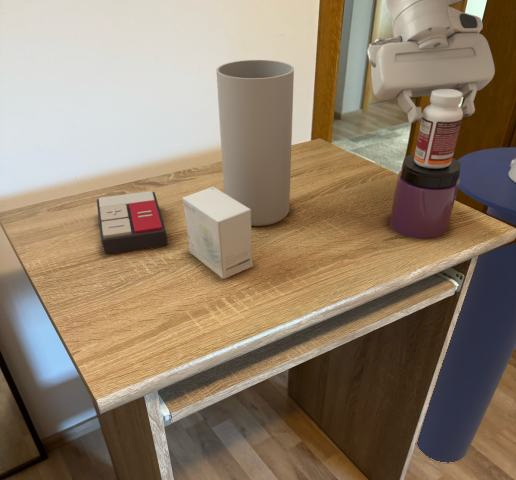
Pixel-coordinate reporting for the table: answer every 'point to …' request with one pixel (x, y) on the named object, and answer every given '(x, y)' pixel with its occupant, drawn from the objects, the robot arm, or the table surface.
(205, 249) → the cosmetics box
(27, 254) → the table surface
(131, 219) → the calculator
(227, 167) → the cylinder vase
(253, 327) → the table surface
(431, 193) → the jar
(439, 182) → the jar lid
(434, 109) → the pill bottle
